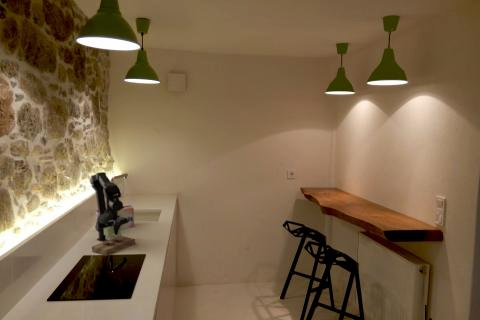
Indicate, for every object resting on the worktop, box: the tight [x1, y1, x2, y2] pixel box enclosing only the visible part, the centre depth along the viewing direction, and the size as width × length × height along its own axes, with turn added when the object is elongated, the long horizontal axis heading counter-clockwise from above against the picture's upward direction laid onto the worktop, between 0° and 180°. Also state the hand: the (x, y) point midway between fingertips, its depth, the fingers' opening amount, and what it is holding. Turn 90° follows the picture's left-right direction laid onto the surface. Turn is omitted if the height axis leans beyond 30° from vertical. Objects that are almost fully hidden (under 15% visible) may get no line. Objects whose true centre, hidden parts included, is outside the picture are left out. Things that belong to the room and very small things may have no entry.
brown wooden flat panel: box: [91, 235, 136, 257], centre depth 195 cm, size 12×20×3 cm, turn 150°
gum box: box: [95, 205, 135, 230], centre depth 229 cm, size 24×8×14 cm, turn 124°
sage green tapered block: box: [104, 225, 124, 241], centre depth 194 cm, size 4×10×6 cm, turn 150°
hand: (113, 234), depth 194 cm, fingers closed on sage green tapered block, 3 cm apart
